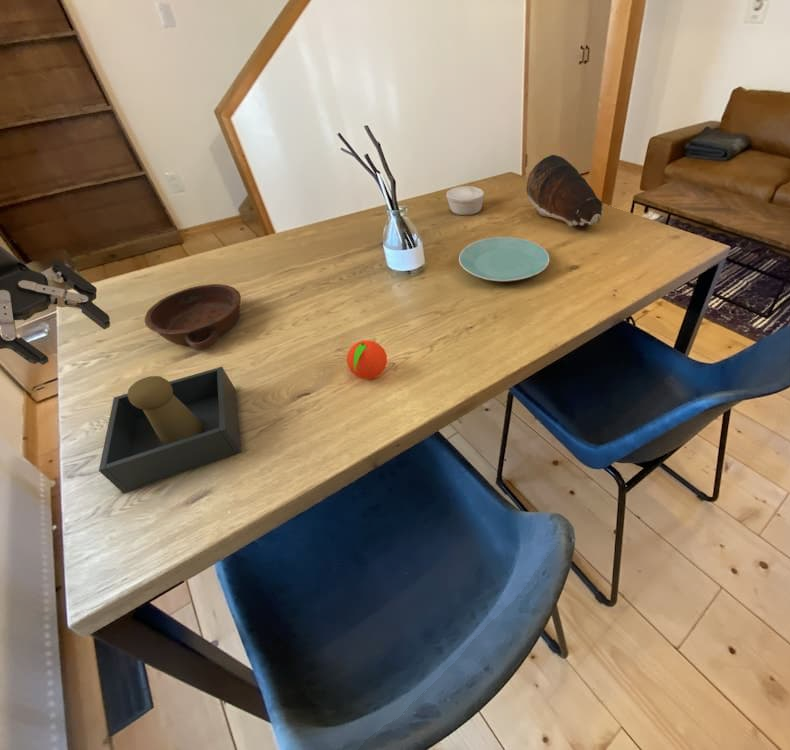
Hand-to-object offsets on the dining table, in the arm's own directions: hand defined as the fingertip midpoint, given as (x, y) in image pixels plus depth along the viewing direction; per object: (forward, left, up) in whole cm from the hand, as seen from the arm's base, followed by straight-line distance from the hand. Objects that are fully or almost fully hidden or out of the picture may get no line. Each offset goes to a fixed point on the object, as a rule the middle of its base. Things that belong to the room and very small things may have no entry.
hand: (78, 342), depth 61 cm
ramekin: (+82, +54, -16) cm, 100 cm away
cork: (+6, -7, -16) cm, 19 cm away
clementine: (+36, -7, -16) cm, 41 cm away
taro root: (+105, +32, -16) cm, 111 cm away
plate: (+76, +17, -16) cm, 80 cm away
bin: (+6, -7, -16) cm, 19 cm away
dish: (+9, +25, -16) cm, 31 cm away
